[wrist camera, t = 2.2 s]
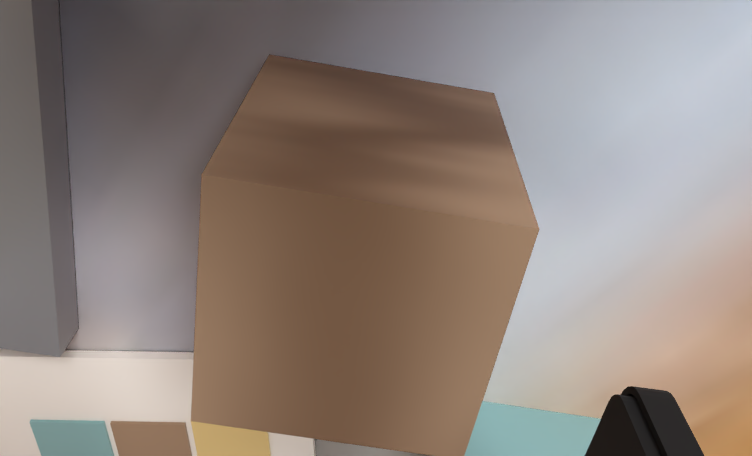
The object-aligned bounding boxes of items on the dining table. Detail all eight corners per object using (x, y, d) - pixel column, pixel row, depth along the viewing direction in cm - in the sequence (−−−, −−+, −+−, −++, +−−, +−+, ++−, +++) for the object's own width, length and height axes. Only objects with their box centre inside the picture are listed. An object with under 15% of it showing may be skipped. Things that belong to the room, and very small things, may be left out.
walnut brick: (493, 92, 16) (539, 229, 10) (445, 276, 18) (462, 460, 13) (269, 53, 15) (201, 174, 10) (252, 245, 18) (190, 421, 13)
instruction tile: (308, 354, 19) (306, 363, 19) (320, 519, 23) (319, 530, 23) (-46, 348, 20) (-54, 358, 19) (20, 512, 23) (14, 523, 23)
